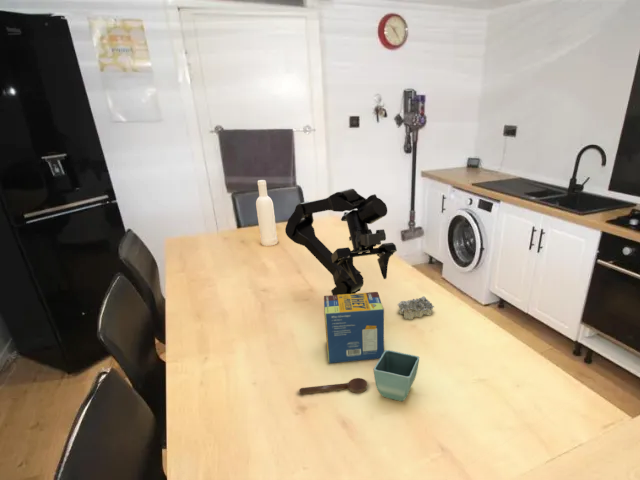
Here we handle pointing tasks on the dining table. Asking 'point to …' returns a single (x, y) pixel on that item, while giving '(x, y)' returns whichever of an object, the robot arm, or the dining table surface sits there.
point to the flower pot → (395, 374)
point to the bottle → (266, 216)
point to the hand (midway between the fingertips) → (371, 280)
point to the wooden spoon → (339, 387)
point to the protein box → (354, 327)
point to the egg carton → (415, 308)
